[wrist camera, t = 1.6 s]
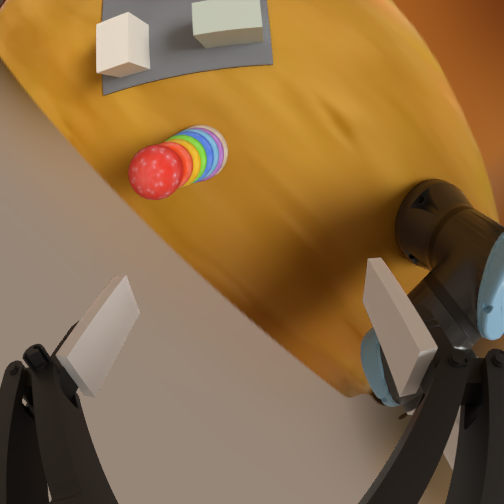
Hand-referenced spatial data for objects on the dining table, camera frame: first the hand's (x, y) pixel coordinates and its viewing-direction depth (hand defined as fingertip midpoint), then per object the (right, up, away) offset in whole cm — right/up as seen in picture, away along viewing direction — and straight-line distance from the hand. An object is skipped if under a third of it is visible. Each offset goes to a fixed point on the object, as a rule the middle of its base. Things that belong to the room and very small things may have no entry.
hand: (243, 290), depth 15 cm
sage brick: (-2, +33, +15) cm, 36 cm away
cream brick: (-17, +32, +16) cm, 40 cm away
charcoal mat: (-11, +39, +13) cm, 42 cm away
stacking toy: (-7, +16, +24) cm, 30 cm away
